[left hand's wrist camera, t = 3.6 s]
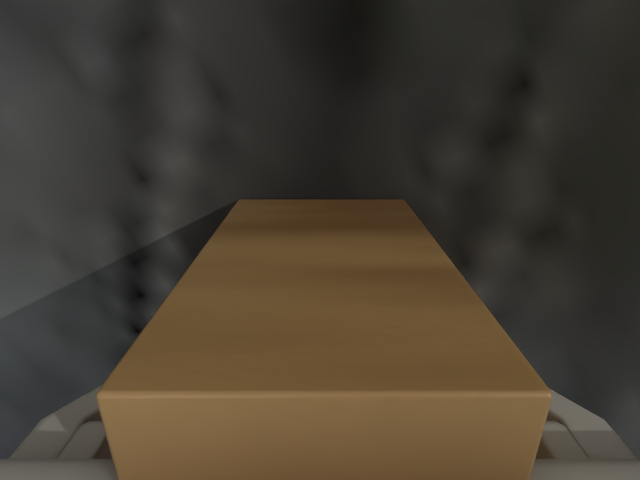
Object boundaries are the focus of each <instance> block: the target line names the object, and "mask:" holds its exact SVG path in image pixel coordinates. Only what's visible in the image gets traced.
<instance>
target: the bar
mask: <svg viewBox="0 0 640 480" xmlns="http://www.w3.org/2000/svg"><path fill="white" fill-rule="evenodd" d="M96 400H97V404H98V408H99V411H100V415H101V419H102V422H103V426H104V430H105V433H106V437H107V441H108V445H109V448H110V452H111V456H112V459H113V463H114V467H115V471H116V474H117V478H118V480H529V479H530V476H531V472H532V469H533V465H534V462H535V458H536V454H537V451H538V447H539V444H540V440H541V436H542V433H543V429H544V426H545V422H546V418H547V415H548V411H549V408H550V404H551V401H552V394H551V391H550V390H549V388H548V387H547V386H546V384H545V383H544V382H543V380H542V379H541V378H540V377H539V375H538V374H537V373H536V371H535V370H534V369H533V367H532V366H531V365H530V364H529V362H528V361H527V360H526V358H525V357H524V356H523V354H522V353H521V352H520V350H519V349H518V348H517V347H516V345H515V344H514V343H513V341H512V340H511V339H510V337H509V336H508V335H507V333H506V332H505V331H504V330H503V328H502V327H501V326H500V324H499V323H498V322H497V320H496V319H495V318H494V316H493V315H492V314H491V313H490V311H489V310H488V309H487V307H486V306H485V305H484V303H483V302H482V301H481V299H480V298H479V297H478V296H477V294H476V293H475V292H474V290H473V289H472V288H471V286H470V285H469V284H468V283H467V281H466V280H465V279H464V277H463V276H462V275H461V273H460V272H459V271H458V269H457V268H456V267H455V266H454V264H453V263H452V262H451V260H450V259H449V258H448V256H447V255H446V254H445V252H444V251H443V250H442V249H441V247H440V246H439V245H438V243H437V242H436V241H435V239H434V238H433V237H432V235H431V234H430V233H429V232H428V230H427V229H426V228H425V226H424V225H423V224H422V222H421V221H420V220H419V218H418V217H417V216H416V215H415V213H414V212H413V211H412V209H411V208H410V207H409V205H408V204H407V203H406V202H405V200H403V199H261V200H238V201H237V203H236V204H235V205H234V207H233V208H232V209H231V211H230V212H229V213H228V215H227V216H226V217H225V219H224V220H223V222H222V223H221V224H220V226H219V227H218V228H217V230H216V231H215V232H214V234H213V235H212V237H211V238H210V239H209V241H208V242H207V243H206V245H205V246H204V247H203V249H202V250H201V251H200V253H199V254H198V256H197V257H196V258H195V260H194V261H193V262H192V264H191V265H190V266H189V268H188V269H187V271H186V272H185V273H184V275H183V276H182V277H181V279H180V280H179V281H178V283H177V284H176V285H175V287H174V288H173V290H172V291H171V292H170V294H169V295H168V296H167V298H166V299H165V300H164V302H163V303H162V305H161V306H160V307H159V309H158V310H157V311H156V313H155V314H154V315H153V317H152V318H151V319H150V321H149V322H148V324H147V325H146V326H145V328H144V329H143V330H142V332H141V333H140V334H139V336H138V337H137V338H136V340H135V341H134V343H133V344H132V345H131V347H130V348H129V349H128V351H127V352H126V353H125V355H124V356H123V358H122V359H121V360H120V362H119V363H118V364H117V366H116V367H115V368H114V370H113V371H112V372H111V374H110V375H109V377H108V378H107V379H106V381H105V382H104V383H103V385H102V386H101V387H100V389H99V390H98V392H97V396H96Z"/></svg>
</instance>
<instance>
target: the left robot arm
mask: <svg viewBox="0 0 640 480" xmlns="http://www.w3.org/2000/svg"><path fill="white" fill-rule="evenodd" d="M102 385H103V384H102ZM102 385H101V386H102ZM101 386H99V387H97V388H95V389H94V390H92V391H90V392H88V393H87V394H85V395H83V396H81V397H80V398H78V399H76V400H74V401H73V402H71V403H69V404H67V405H66V406H64V407H62V408H60V409H59V410H57V411H55V412H53V413H52V414H50V415H48V416H46V417H45V418H43V419H41V421H40V422H39V423H38V424H37V425H36V426H35V428H34V429H33V430H32V431H31V432H30V434H29V435H28V436H27V437H26V438H25V439H24V441H23V442H22V443H21V444H20V445H19V446H18V448H17V449H16V450H15V451H14V452H13V454H12V455H11V456H10V457H9V458H8V459H0V480H118V478H117V474H116V471H115V467H114V463H113V459H112V456H111V452H110V448H109V445H108V441H107V437H106V433H105V430H104V426H103V422H102V419H101V415H100V411H99V408H98V404H97V400H96V396H97V392H98V390H99V389H100V387H101ZM549 390H550V391H551V394H552V401H551V404H550V408H549V411H548V415H547V418H546V422H545V426H544V429H543V433H542V436H541V440H540V444H539V447H538V451H537V454H536V458H535V462H534V465H533V469H532V472H531V476H530V479H529V480H640V459H637V457H636V456H635V455H634V454H633V453H632V452H631V450H630V449H629V448H628V447H627V446H626V445H625V443H624V442H623V441H622V440H621V439H620V438H619V437H618V435H617V434H616V433H615V432H614V431H613V430H612V428H611V427H610V426H609V425H608V424H607V423H606V421H605V420H604V419H602V418H600V417H598V416H597V415H595V414H593V413H591V412H590V411H588V410H586V409H584V408H582V407H581V406H579V405H577V404H575V403H574V402H572V401H570V400H568V399H567V398H565V397H563V396H561V395H560V394H558V393H556V392H554V391H553V390H551V389H549Z"/></svg>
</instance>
